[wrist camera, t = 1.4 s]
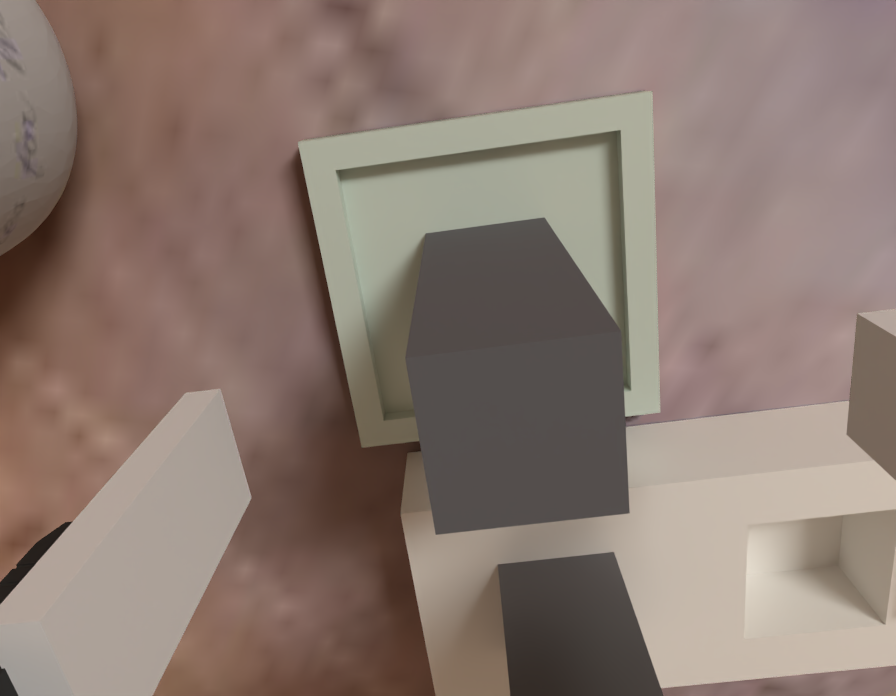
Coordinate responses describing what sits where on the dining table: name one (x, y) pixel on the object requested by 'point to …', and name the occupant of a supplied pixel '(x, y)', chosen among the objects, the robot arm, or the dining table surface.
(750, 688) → the dining table surface
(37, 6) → the teacup
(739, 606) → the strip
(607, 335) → the plug
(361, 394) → the tray
